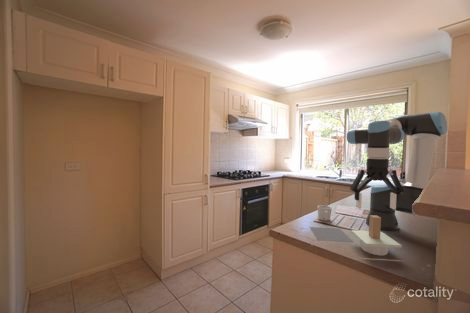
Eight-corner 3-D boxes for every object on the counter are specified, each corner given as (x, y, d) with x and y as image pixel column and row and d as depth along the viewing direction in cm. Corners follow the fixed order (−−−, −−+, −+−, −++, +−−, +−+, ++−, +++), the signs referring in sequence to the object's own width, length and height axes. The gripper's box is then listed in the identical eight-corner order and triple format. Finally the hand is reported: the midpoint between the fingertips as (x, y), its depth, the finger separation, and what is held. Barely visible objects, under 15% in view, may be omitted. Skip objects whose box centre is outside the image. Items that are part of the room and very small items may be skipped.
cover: (381, 233, 96) (382, 212, 95) (401, 247, 83) (402, 222, 82) (351, 232, 97) (351, 211, 96) (366, 245, 84) (367, 221, 83)
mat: (339, 229, 113) (340, 228, 113) (353, 243, 97) (353, 242, 97) (309, 227, 115) (309, 227, 115) (317, 241, 99) (317, 240, 99)
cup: (333, 224, 120) (334, 210, 120) (319, 223, 122) (319, 209, 122) (329, 218, 131) (329, 205, 131) (315, 217, 133) (316, 204, 132)
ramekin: (356, 243, 98) (357, 232, 97) (385, 247, 93) (386, 236, 93) (360, 254, 87) (361, 242, 87) (393, 260, 83) (394, 247, 83)
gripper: (403, 157, 90) (401, 206, 91) (342, 157, 93) (341, 204, 94) (416, 159, 83) (414, 211, 84) (350, 158, 85) (348, 210, 87)
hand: (375, 208), depth 89 cm, fingers open, 13 cm apart
